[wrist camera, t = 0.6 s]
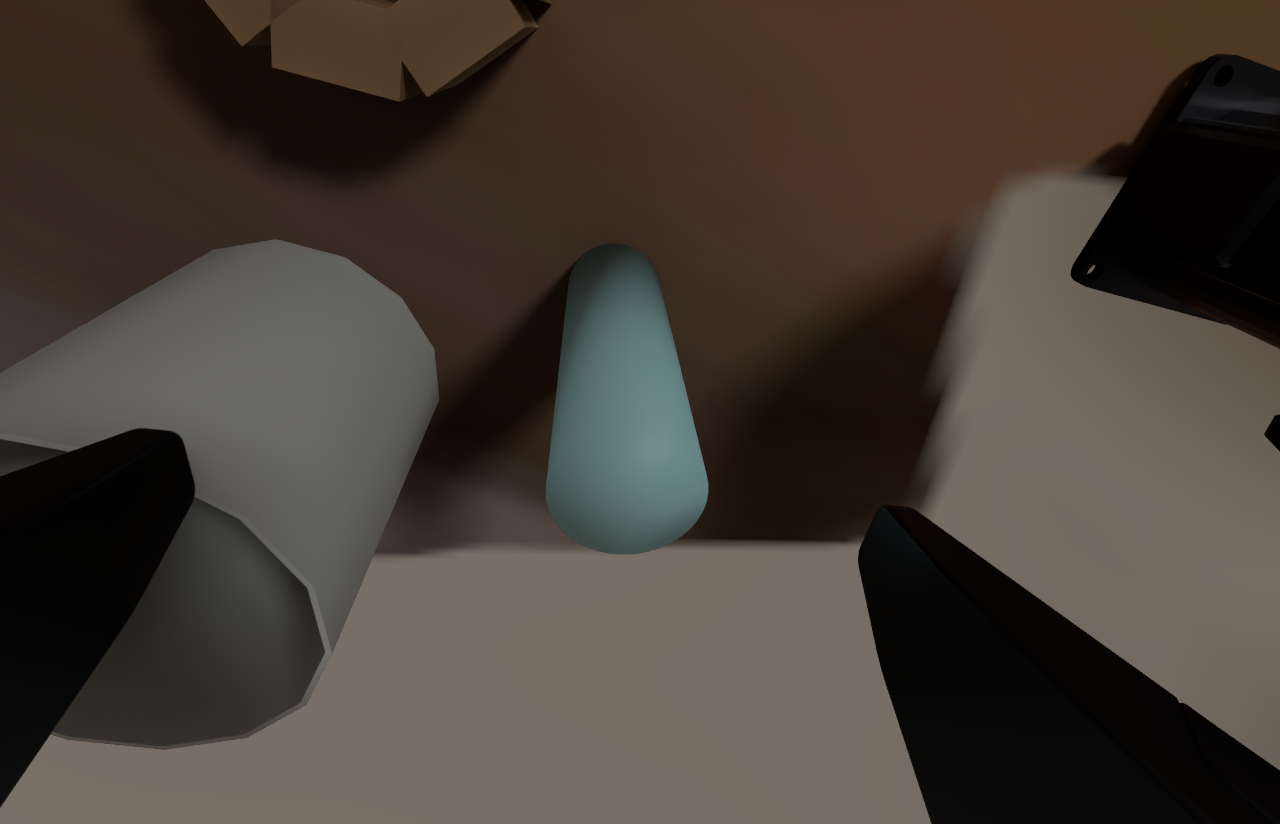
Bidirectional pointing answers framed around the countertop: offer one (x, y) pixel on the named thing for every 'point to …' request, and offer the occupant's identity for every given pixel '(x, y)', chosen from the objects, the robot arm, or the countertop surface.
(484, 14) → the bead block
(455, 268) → the countertop surface
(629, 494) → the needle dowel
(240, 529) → the cup
